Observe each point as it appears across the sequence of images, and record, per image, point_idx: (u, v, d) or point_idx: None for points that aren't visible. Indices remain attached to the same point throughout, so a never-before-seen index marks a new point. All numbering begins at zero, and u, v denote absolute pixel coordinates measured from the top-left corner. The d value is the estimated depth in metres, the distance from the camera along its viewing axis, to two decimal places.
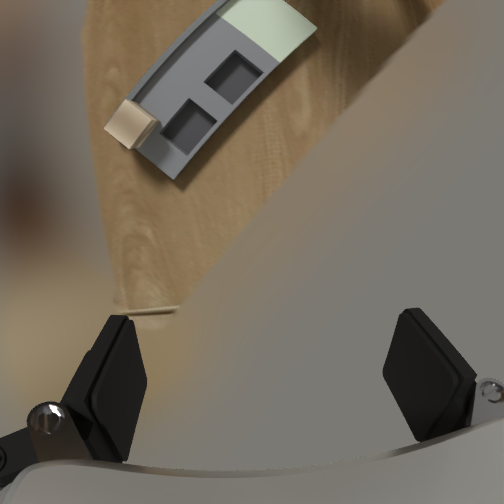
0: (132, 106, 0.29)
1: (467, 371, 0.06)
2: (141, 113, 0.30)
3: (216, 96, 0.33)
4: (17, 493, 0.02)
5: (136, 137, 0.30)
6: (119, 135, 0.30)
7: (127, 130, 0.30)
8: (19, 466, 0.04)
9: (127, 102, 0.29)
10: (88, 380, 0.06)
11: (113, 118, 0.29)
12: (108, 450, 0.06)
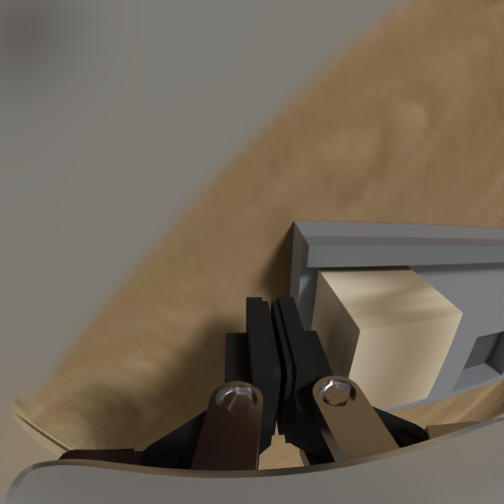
0: (448, 344, 0.09)
1: (306, 364, 0.07)
2: (436, 373, 0.09)
3: (459, 368, 0.15)
4: (17, 493, 0.02)
5: None
6: (360, 381, 0.09)
7: (384, 385, 0.09)
8: None
9: (455, 324, 0.09)
10: (266, 354, 0.08)
11: (404, 331, 0.08)
12: None
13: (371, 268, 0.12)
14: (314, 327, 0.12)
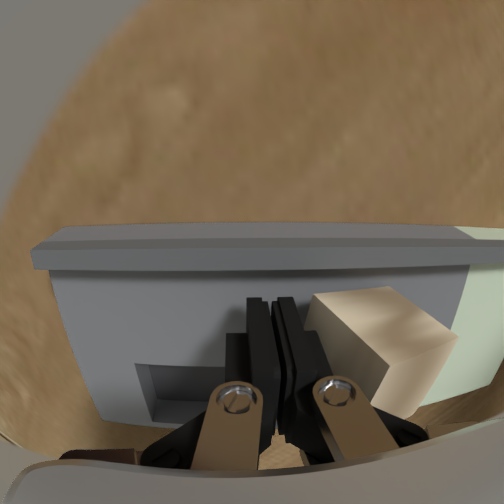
0: (442, 365, 0.09)
1: (306, 364, 0.07)
2: (426, 391, 0.10)
3: None
4: (17, 493, 0.02)
5: None
6: None
7: (388, 411, 0.09)
8: None
9: (451, 347, 0.09)
10: (266, 354, 0.08)
11: (418, 360, 0.08)
12: None
13: (361, 291, 0.11)
14: None
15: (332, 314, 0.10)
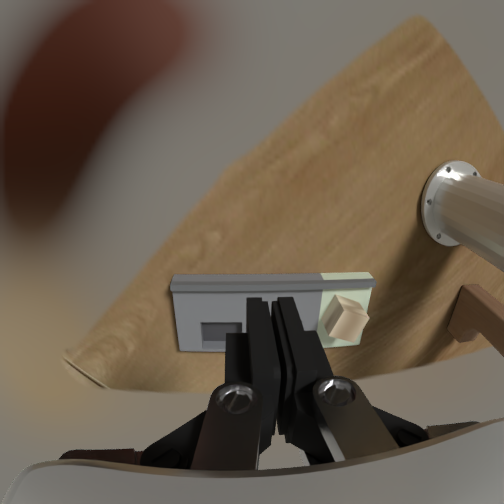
0: (363, 325, 0.37)
1: (306, 364, 0.07)
2: (358, 334, 0.38)
3: None
4: (17, 493, 0.02)
5: (338, 337, 0.38)
6: (339, 324, 0.37)
7: (344, 329, 0.37)
8: None
9: (366, 320, 0.37)
10: (266, 355, 0.08)
11: (353, 315, 0.37)
12: None
13: (348, 299, 0.40)
14: (327, 310, 0.40)
15: (337, 299, 0.39)
